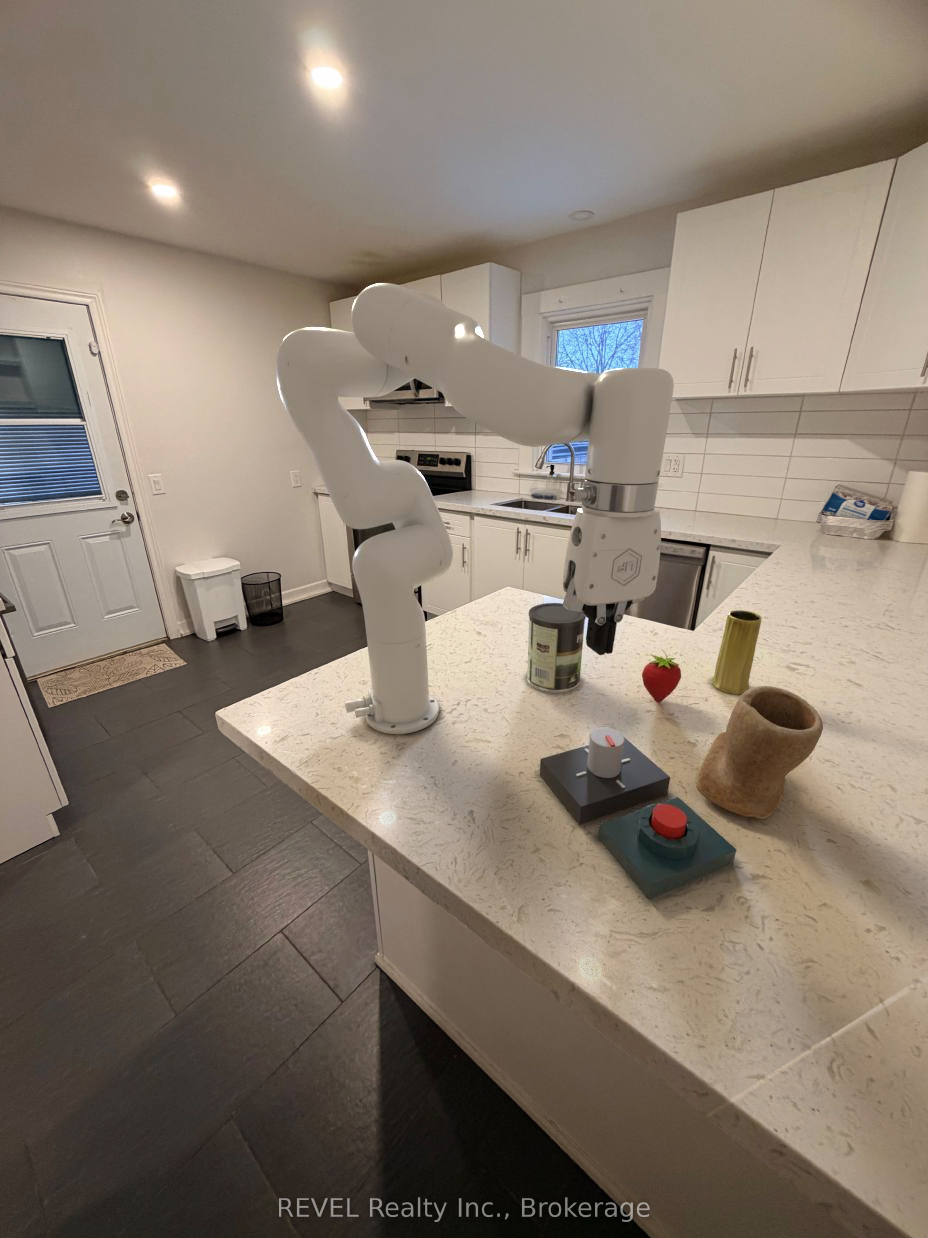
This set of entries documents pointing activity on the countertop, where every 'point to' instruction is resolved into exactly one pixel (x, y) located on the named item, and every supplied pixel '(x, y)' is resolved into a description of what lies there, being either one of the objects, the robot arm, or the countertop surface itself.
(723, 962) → the countertop surface
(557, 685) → the coffee can
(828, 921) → the countertop surface
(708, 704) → the countertop surface
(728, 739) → the stone cup
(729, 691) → the vase
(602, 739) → the hob knob
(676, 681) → the strawberry
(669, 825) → the button
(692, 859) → the button block
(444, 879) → the countertop surface
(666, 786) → the hob panel
